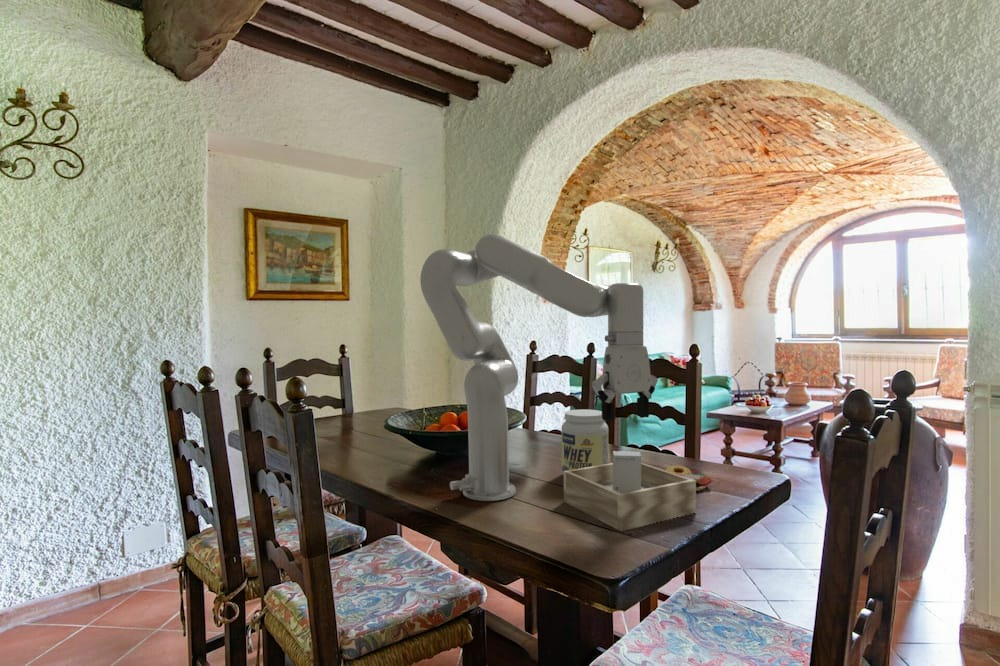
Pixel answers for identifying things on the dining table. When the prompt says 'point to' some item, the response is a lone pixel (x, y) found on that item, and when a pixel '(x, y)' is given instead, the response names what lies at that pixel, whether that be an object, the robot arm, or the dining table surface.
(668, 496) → the socket box
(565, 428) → the supplement tub
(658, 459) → the dining table surface
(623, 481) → the skincare box
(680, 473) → the toy food set
